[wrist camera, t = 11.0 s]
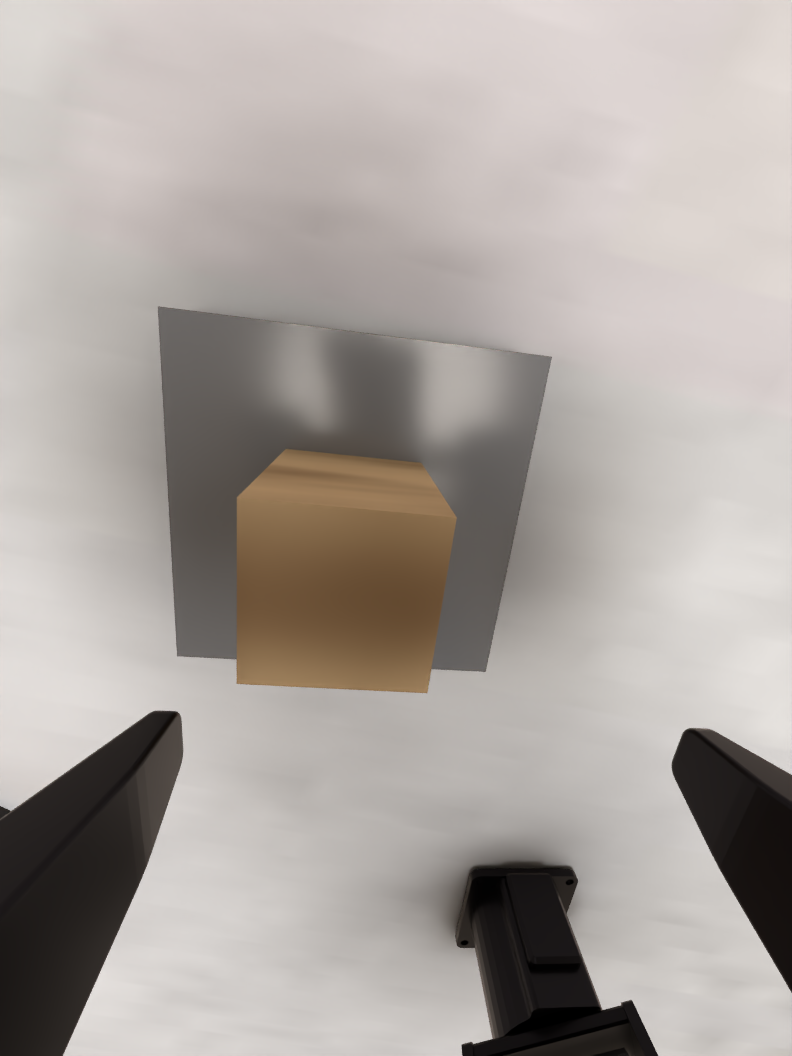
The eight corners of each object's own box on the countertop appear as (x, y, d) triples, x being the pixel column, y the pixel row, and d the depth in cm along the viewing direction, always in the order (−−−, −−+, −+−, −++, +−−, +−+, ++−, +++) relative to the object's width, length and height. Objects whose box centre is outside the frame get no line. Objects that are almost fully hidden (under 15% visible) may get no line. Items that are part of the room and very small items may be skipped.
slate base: (468, 631, 21) (485, 671, 18) (203, 615, 20) (177, 656, 17) (520, 359, 17) (551, 356, 14) (194, 318, 16) (157, 306, 13)
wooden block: (404, 582, 16) (427, 693, 11) (281, 573, 16) (236, 683, 10) (421, 462, 15) (456, 517, 9) (285, 448, 15) (236, 497, 9)
